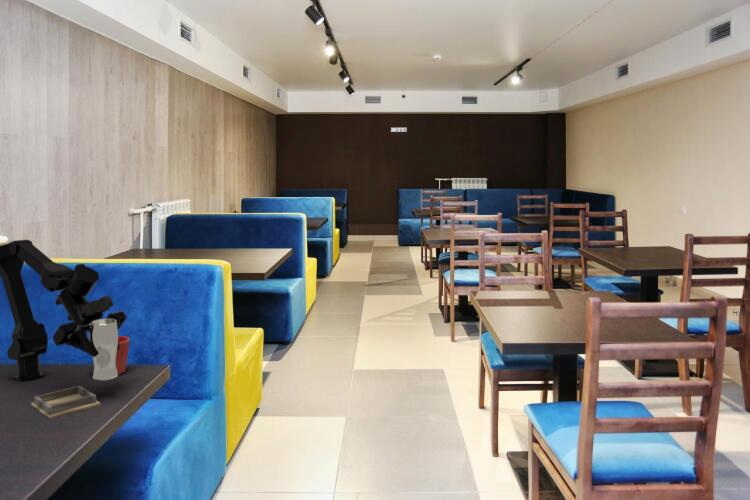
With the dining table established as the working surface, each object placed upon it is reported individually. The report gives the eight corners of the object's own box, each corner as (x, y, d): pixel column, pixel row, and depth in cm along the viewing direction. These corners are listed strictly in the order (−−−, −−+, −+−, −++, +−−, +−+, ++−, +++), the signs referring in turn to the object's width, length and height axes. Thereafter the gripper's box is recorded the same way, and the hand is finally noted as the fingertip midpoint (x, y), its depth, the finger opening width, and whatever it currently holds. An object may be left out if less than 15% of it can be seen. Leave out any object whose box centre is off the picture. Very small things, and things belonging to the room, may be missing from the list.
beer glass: (108, 382, 154) (106, 325, 152) (84, 380, 155) (82, 323, 153) (125, 373, 161) (122, 319, 159) (102, 371, 162) (99, 317, 160)
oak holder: (30, 404, 153) (29, 395, 152) (79, 392, 161) (79, 383, 161) (49, 418, 143) (48, 409, 143) (100, 404, 151) (100, 396, 151)
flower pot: (102, 366, 183) (100, 335, 182) (137, 366, 183) (135, 335, 182) (84, 377, 173) (81, 345, 172) (121, 377, 172) (119, 344, 171)
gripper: (56, 293, 149) (87, 342, 145) (120, 282, 165) (150, 325, 161) (39, 321, 154) (69, 369, 150) (103, 307, 170) (132, 350, 166)
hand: (107, 352), depth 156 cm, fingers closed on beer glass, 6 cm apart
